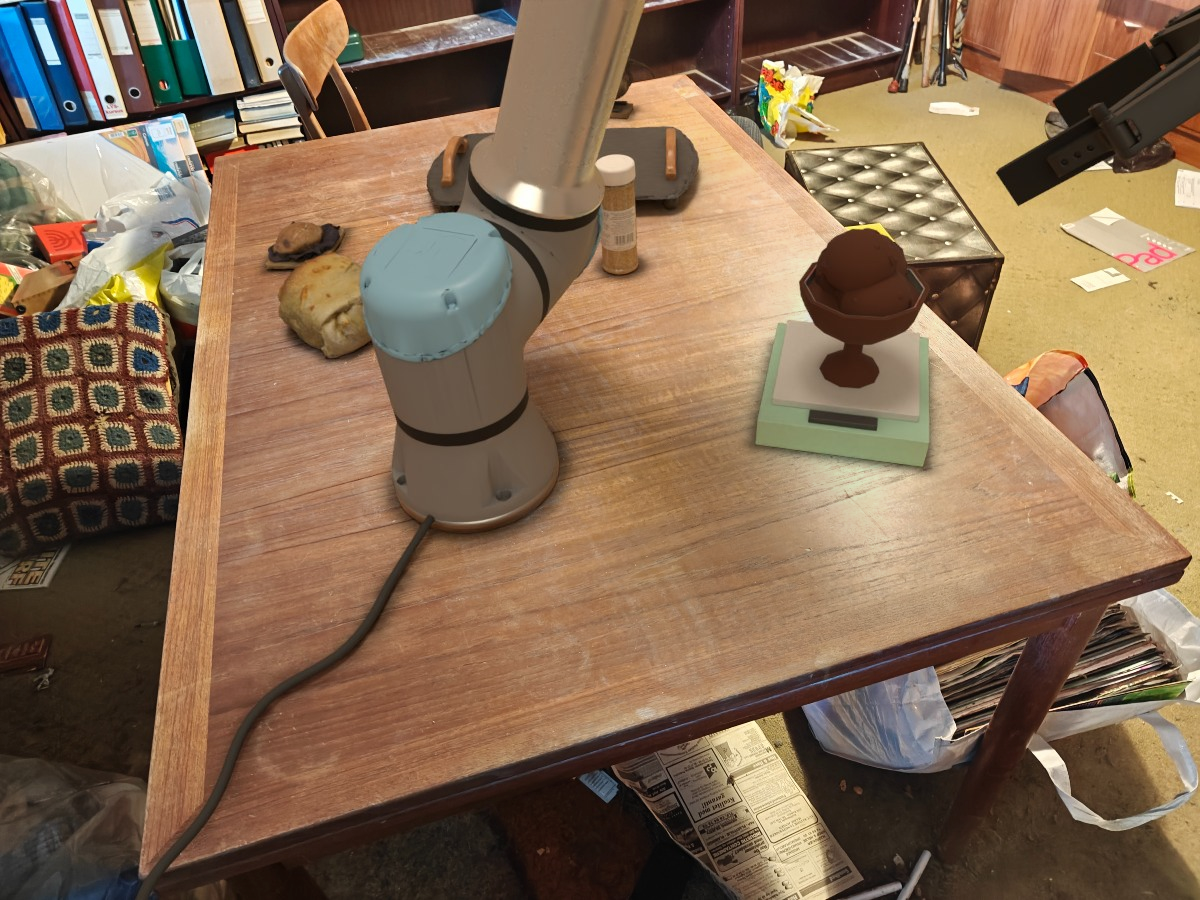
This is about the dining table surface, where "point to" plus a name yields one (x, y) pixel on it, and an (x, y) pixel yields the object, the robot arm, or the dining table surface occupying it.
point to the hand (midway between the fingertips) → (1036, 149)
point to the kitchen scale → (846, 399)
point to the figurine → (622, 107)
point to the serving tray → (655, 151)
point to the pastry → (325, 304)
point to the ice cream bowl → (860, 300)
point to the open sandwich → (303, 244)
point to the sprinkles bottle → (618, 214)
